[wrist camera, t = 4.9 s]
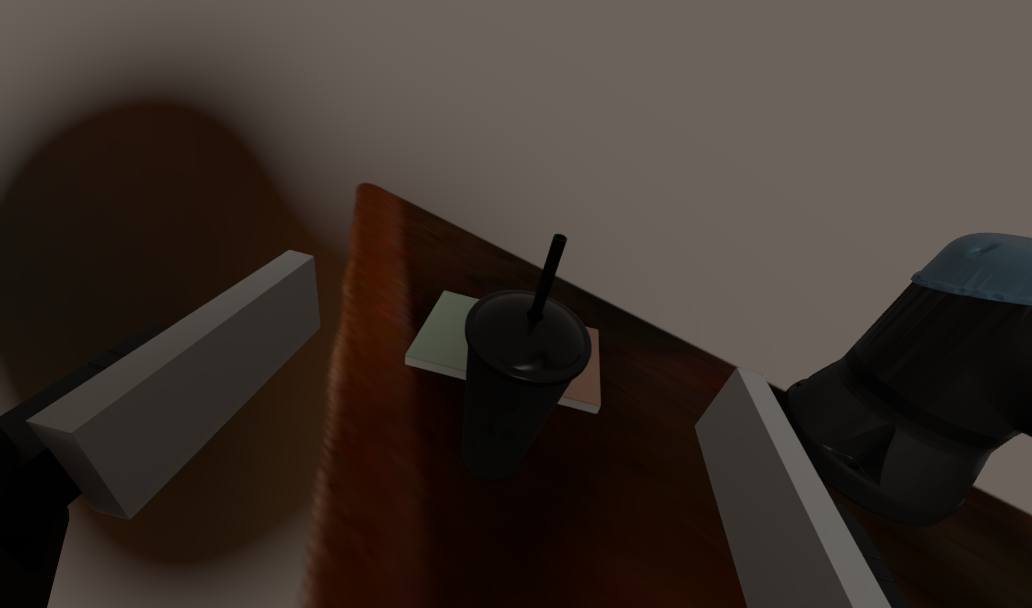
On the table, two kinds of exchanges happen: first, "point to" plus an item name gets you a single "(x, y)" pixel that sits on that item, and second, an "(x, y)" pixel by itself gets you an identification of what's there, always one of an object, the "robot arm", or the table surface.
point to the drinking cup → (517, 370)
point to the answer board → (447, 350)
